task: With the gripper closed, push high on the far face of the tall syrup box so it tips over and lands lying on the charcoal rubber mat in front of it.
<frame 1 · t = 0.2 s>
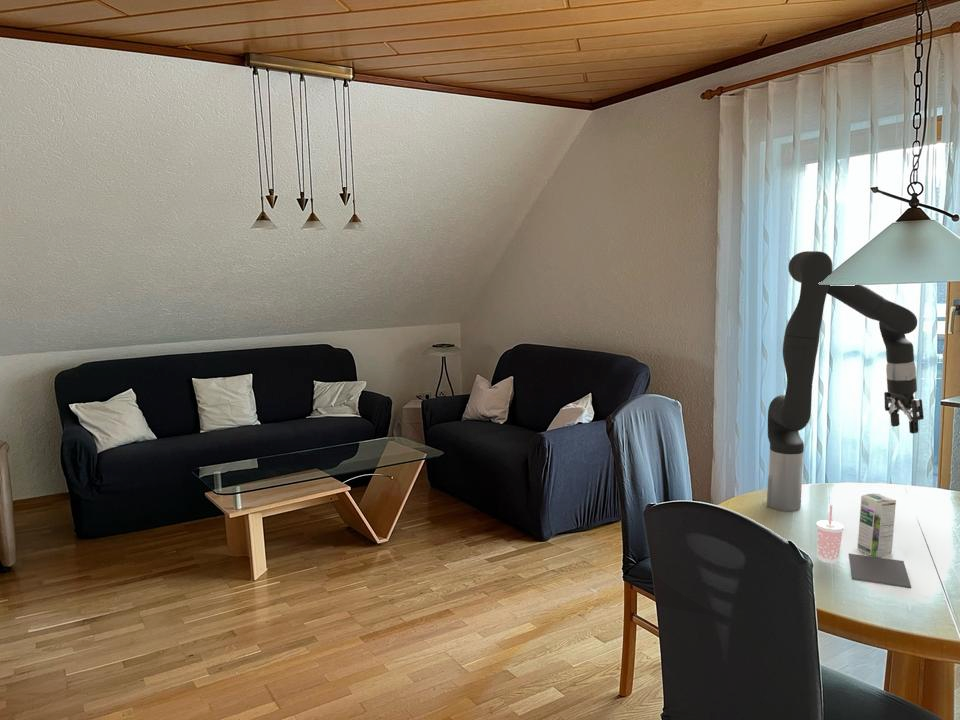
hand: (904, 429, 218), 22 cm above the table, tool pointing down, fingers open, 8 cm apart
syrup box: (874, 552, 186), on the table
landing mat: (878, 570, 176), on the table
beverage cup: (827, 560, 182), on the table
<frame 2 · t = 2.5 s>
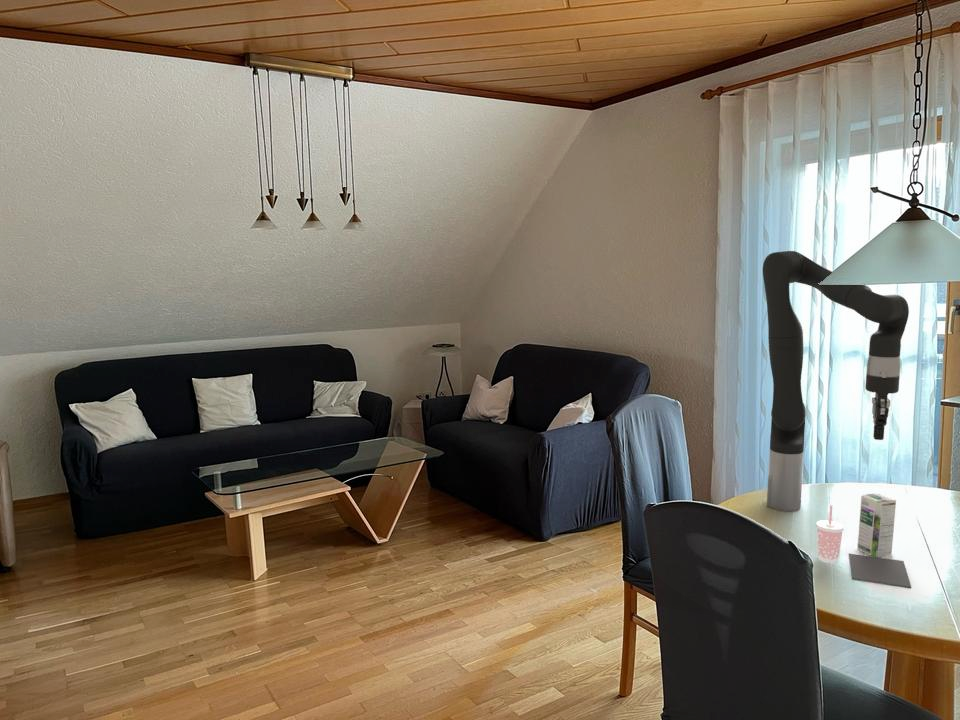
hand: (878, 438, 191), 27 cm above the table, tool pointing down, fingers closed
nothing on the table moved.
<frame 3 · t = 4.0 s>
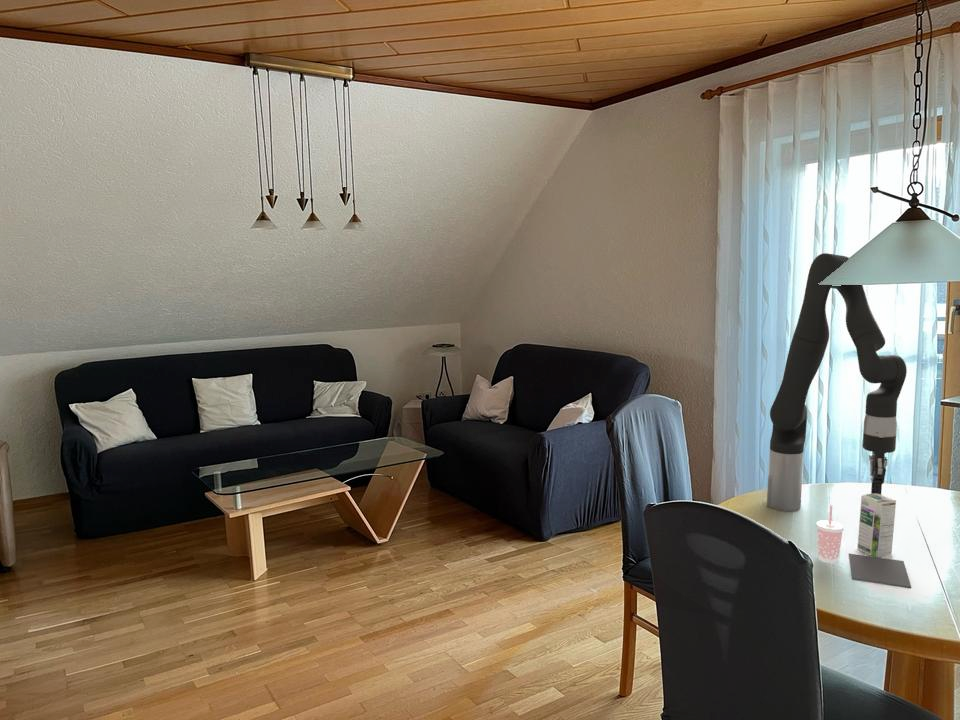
hand: (876, 496, 192), 12 cm above the table, tool pointing down, fingers closed
nothing on the table moved.
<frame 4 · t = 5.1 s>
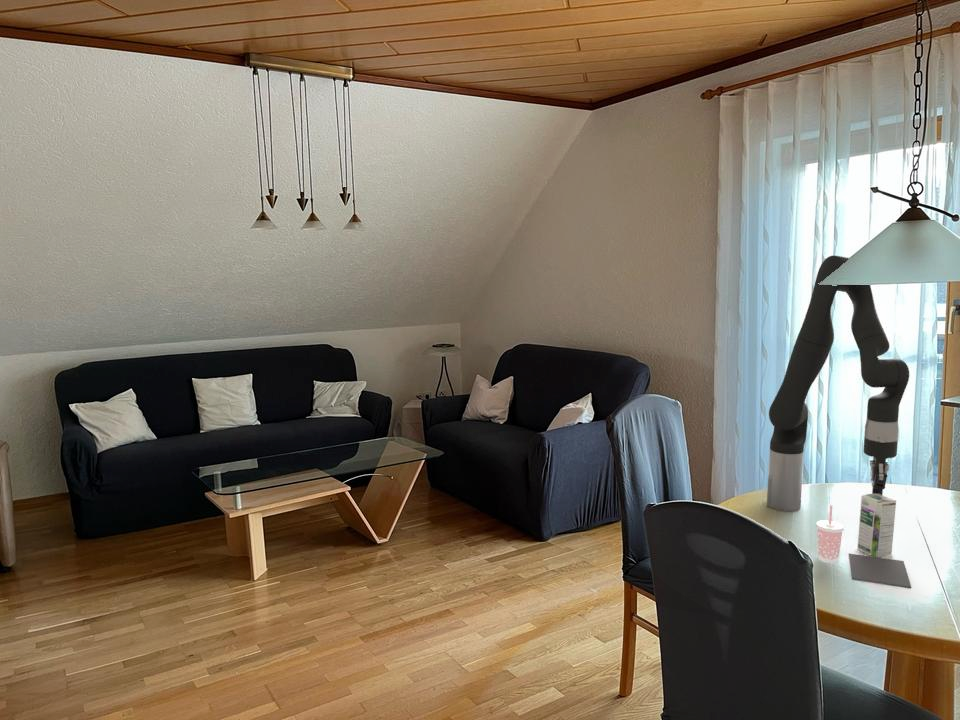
hand: (876, 501, 190), 11 cm above the table, tool pointing down, fingers closed
syrup box: (874, 552, 186), on the table, touching gripper
everything else where it was.
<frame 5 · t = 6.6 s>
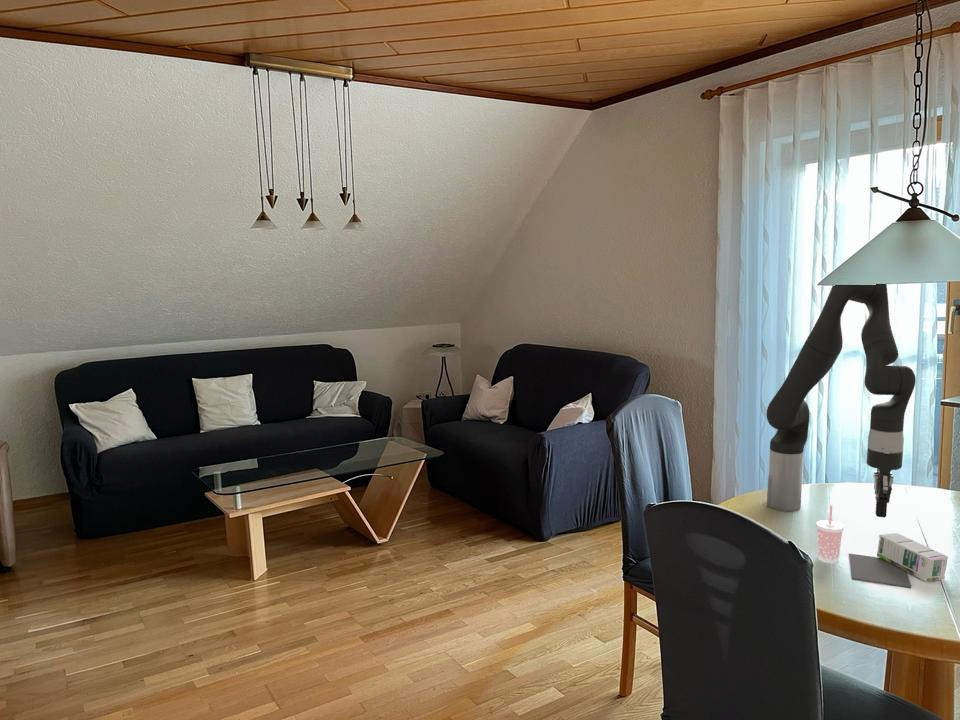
hand: (880, 516, 180), 11 cm above the table, tool pointing down, fingers closed
syrup box: (886, 543, 183), point 3 cm above the table, touching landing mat
everything else where it was.
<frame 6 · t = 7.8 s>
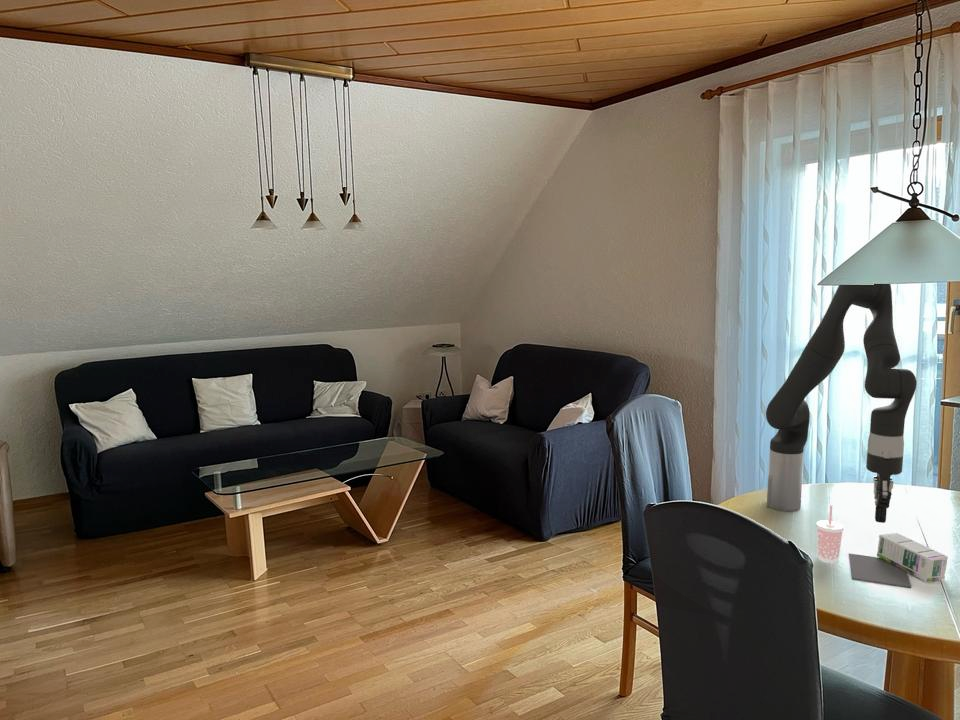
hand: (880, 521, 177), 11 cm above the table, tool pointing down, fingers closed
nothing on the table moved.
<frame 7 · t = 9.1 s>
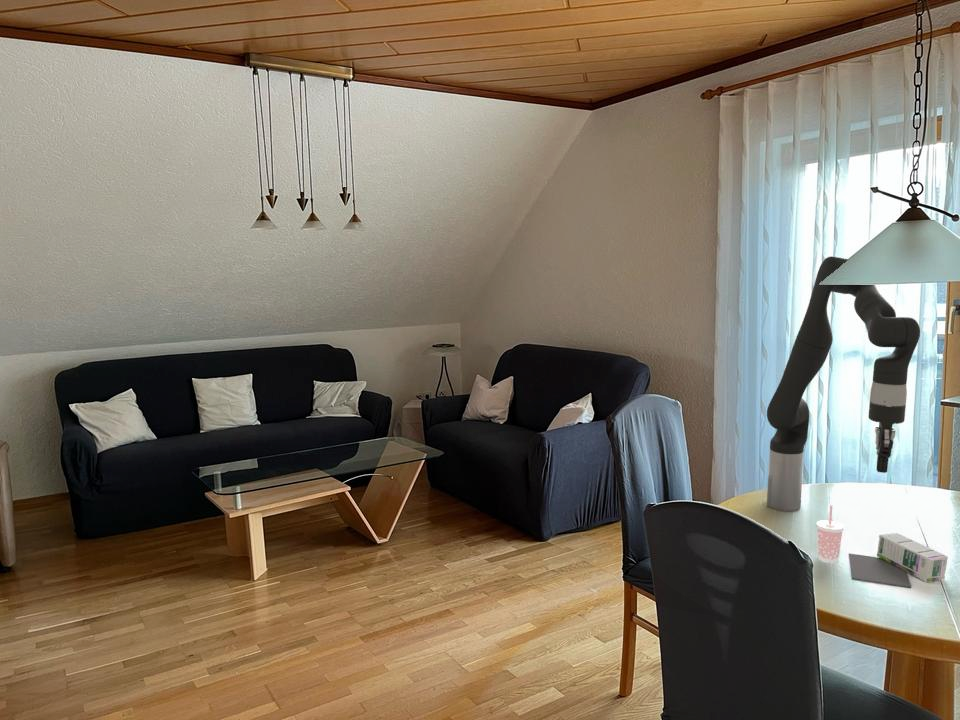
hand: (881, 471, 177), 23 cm above the table, tool pointing down, fingers closed
nothing on the table moved.
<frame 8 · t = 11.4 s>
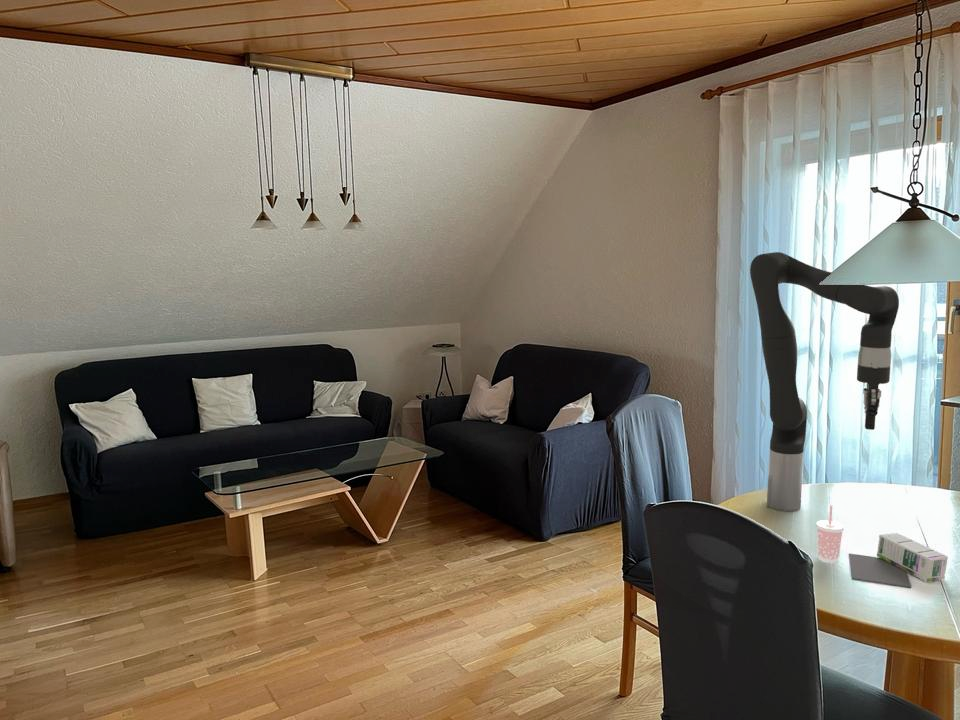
hand: (869, 428, 193), 29 cm above the table, tool pointing down, fingers closed
nothing on the table moved.
at the end: syrup box tilted 92°; syrup box touching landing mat, table; beverage cup moved 0.2 cm from its start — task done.
